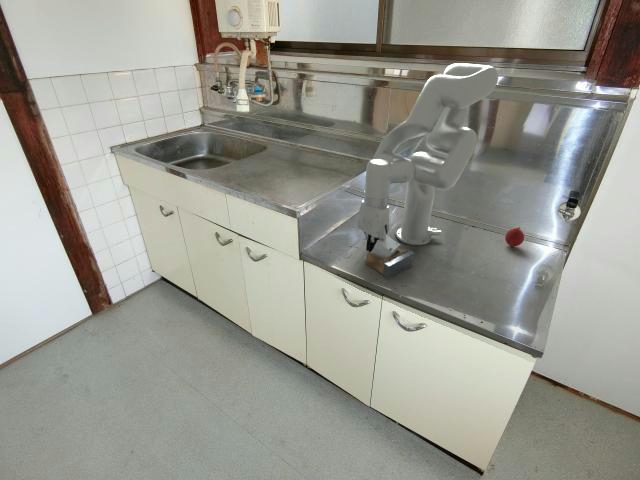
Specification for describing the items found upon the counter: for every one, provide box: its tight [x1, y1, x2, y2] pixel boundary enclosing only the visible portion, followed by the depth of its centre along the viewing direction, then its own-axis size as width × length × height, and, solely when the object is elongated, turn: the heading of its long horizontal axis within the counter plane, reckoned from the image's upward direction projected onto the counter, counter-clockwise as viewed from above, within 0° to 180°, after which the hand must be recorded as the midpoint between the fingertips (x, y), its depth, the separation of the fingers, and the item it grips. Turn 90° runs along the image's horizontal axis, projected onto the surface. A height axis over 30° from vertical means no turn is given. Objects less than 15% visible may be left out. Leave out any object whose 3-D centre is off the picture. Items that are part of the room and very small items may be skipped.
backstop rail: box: [382, 249, 415, 281], centre depth 114 cm, size 2×12×5 cm, turn 129°
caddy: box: [365, 247, 409, 275], centre depth 117 cm, size 8×10×5 cm
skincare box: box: [370, 234, 401, 260], centre depth 117 cm, size 6×6×7 cm
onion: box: [504, 226, 525, 248], centre depth 126 cm, size 6×6×8 cm
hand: (371, 249), depth 121 cm, fingers closed
